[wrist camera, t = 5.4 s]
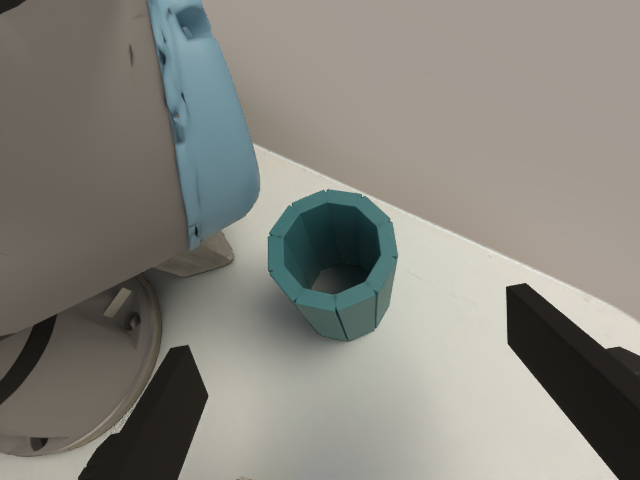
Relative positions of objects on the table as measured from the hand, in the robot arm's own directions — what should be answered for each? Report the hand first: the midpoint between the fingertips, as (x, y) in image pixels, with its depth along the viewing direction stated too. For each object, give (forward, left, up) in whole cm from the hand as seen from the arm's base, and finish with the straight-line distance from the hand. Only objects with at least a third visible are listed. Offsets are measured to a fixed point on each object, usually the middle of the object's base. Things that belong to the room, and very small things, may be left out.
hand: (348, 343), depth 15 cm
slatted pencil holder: (-4, +4, -13) cm, 14 cm away
